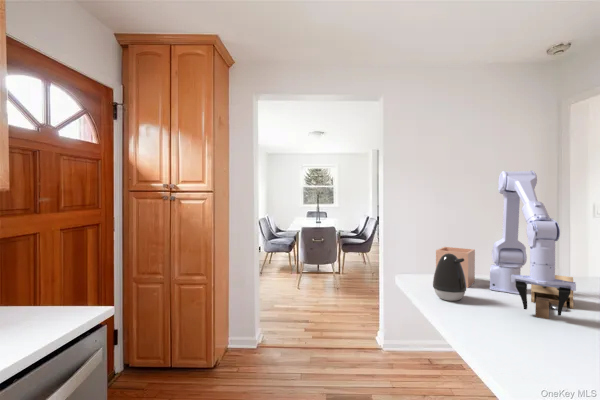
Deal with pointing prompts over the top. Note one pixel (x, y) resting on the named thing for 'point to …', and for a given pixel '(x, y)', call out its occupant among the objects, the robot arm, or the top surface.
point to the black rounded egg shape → (449, 278)
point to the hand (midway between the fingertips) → (542, 311)
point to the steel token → (555, 307)
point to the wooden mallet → (544, 307)
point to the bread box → (551, 291)
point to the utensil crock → (467, 264)
